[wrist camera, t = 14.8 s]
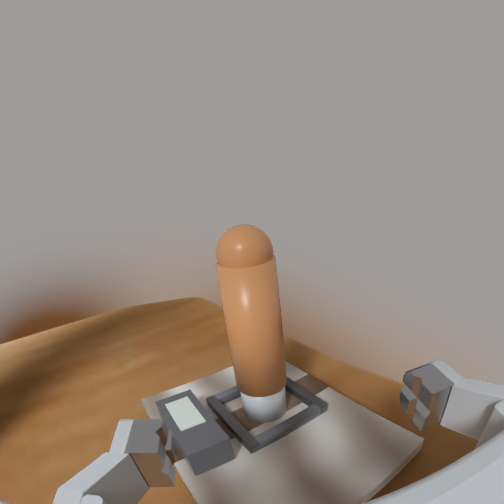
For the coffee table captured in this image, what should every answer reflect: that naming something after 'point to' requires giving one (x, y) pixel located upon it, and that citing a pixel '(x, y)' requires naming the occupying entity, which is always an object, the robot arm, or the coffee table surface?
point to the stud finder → (195, 432)
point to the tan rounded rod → (253, 320)
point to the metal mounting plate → (294, 446)
